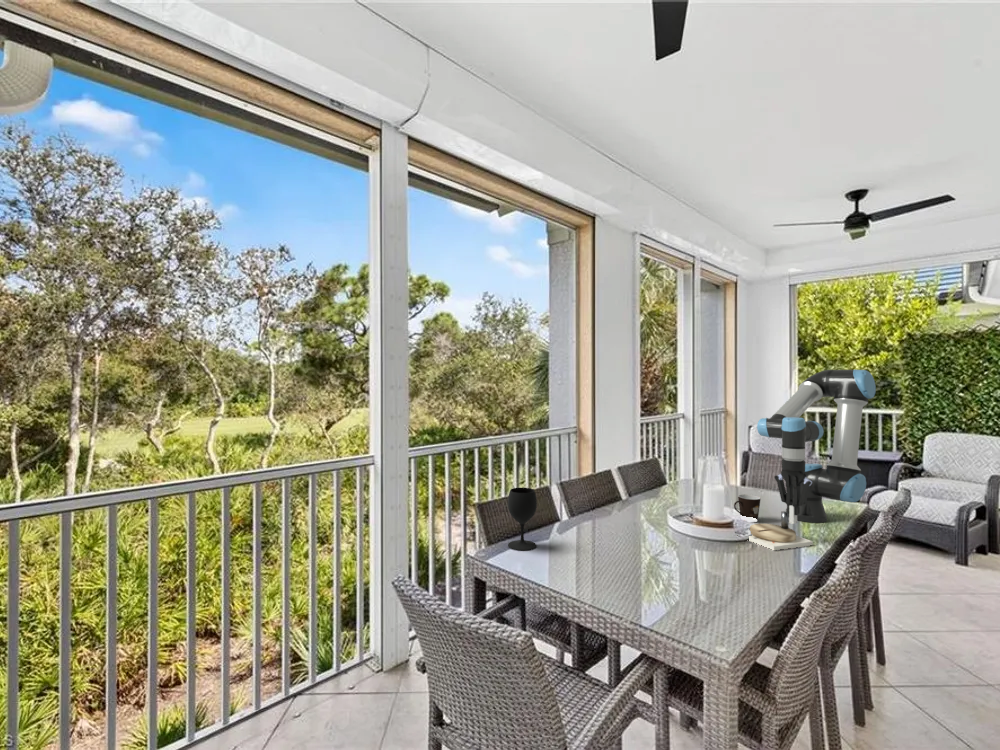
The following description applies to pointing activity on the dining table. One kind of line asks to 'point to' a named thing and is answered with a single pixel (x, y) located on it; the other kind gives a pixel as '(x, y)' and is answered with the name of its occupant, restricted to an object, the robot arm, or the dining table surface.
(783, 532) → the dial
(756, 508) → the coffee mug
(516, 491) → the wine glass
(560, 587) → the dining table surface
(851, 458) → the robot arm
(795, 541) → the base plate
